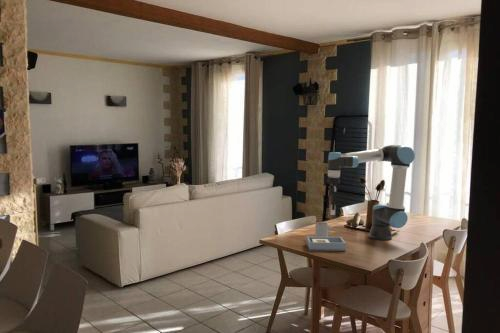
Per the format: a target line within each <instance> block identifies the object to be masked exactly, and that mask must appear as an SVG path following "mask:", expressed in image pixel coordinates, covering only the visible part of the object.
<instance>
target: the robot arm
mask: <svg viewBox="0 0 500 333" xmlns="http://www.w3.org/2000/svg"><path fill="white" fill-rule="evenodd" d="M414 160H415V151H414V149H413V148H412V147H410V146H409V145H405V144H404V145H403V144H402V145H399V144H391V145H386V146H380V147H376V148H375V149H369V150H361V151H353V152H346V153H341V152H336V151H331V152H328V160H327V162H328V163H327V170H328V171H326V173H327V184H330V185H329V186H328V198H329V197H330V196H331V204H330V205H331V212H330V215H335V216H336V208H335V205H337V202H338V201H337V199H338V198H337V197H338V186H337V185H339V184H340V183H341V178H340V177H341V168H352V169H353V168H357V167H358V166H359V164H361V163H367V162H368V163H369V162H374V161H376V162H390V166H391V167H392V174H391V181H390V182H391V183H390V191H389V200H388V204H375V205H373V206H372V223H371V225H372V226H371V228H370V231H369V233H368V234H369V235H368V236H369V238H371V239H375V240H379V241H390V240H392V239H393V233H392V230H391V228H395V229H401V228H403V227H404V226H406V224H407V222H408V220H409V219H408V214H407V212H405V210H406V207H405V206H404V197H405V190H406V189H405V188H406V180H407V171H408V169H409V168H410V166H411V164H412V163H413V162H414Z"/></svg>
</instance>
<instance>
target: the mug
mask: <svg viewBox="0 0 500 333" xmlns="http://www.w3.org/2000/svg"><path fill="white" fill-rule="evenodd" d="M314 227H315V233H314V234H315V236H314V237H329V236H330V234H331V231H332V230H331V225H330V224H329V223H327V222H323V221H321V222H320V221H319V222H316V223H315V226H314Z"/></svg>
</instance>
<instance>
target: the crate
mask: <svg viewBox="0 0 500 333" xmlns="http://www.w3.org/2000/svg"><path fill="white" fill-rule="evenodd" d="M346 244H347V243H346V242H345V240H344V239H343V238H342V237H341V236H328V237H315V236H306V245H307V248H308V250H309V251H314V252H315V251H319V252H320V251H322V252H323V251H324V252H346V249H347V248H346V247H347V246H346Z"/></svg>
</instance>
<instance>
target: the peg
mask: <svg viewBox="0 0 500 333" xmlns="http://www.w3.org/2000/svg"><path fill="white" fill-rule="evenodd" d="M330 204H331V196H330V197H329V196H328V219H331V220H332V219H333V220H335V219H336V214H335V215H330V212H331V205H330ZM336 205H337V204H336ZM336 205H335V209H336V208H337V207H336Z"/></svg>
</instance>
